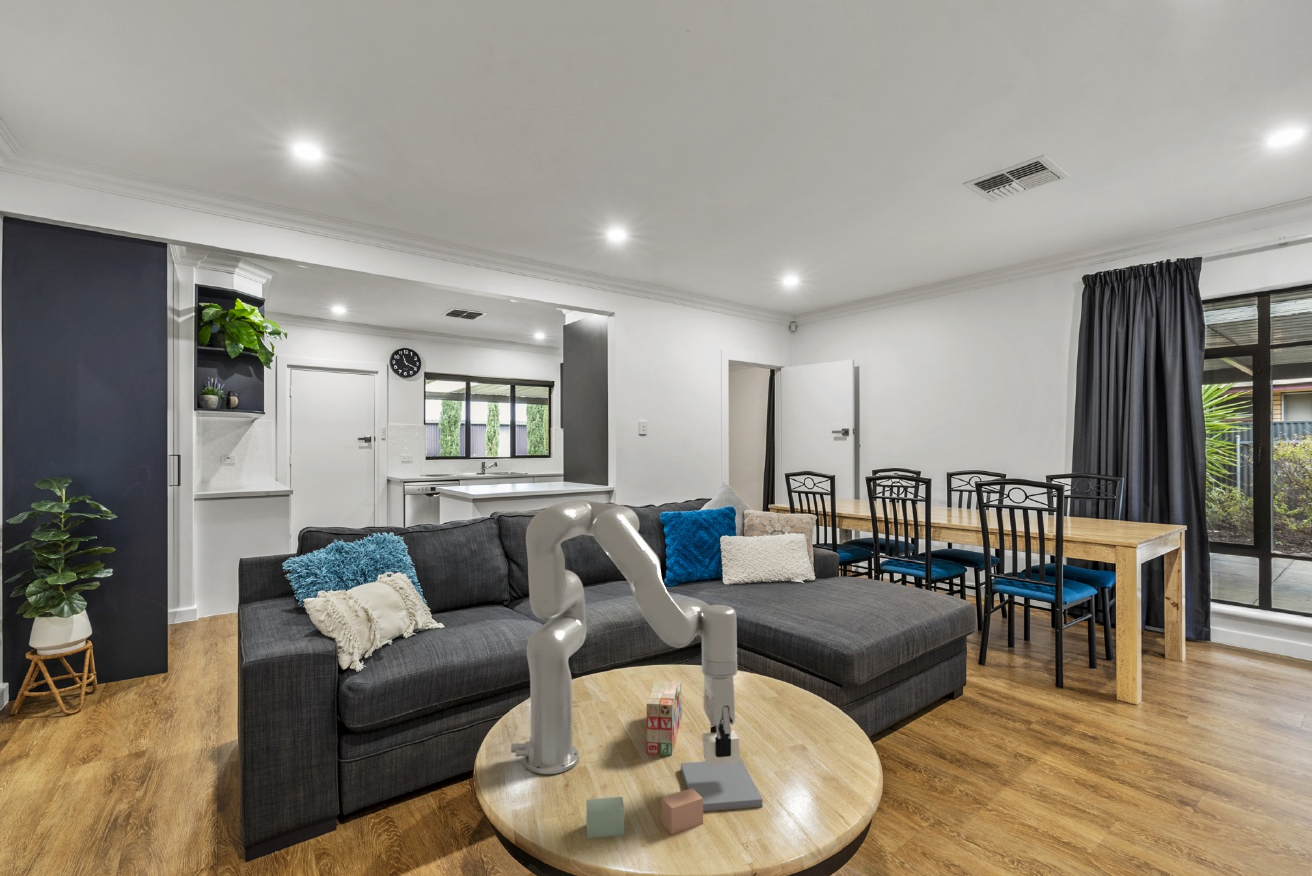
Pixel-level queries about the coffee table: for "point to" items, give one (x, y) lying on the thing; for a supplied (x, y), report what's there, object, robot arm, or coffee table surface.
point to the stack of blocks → (663, 717)
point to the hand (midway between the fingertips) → (720, 749)
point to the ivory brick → (710, 750)
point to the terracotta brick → (682, 810)
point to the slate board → (722, 785)
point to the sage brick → (605, 817)
